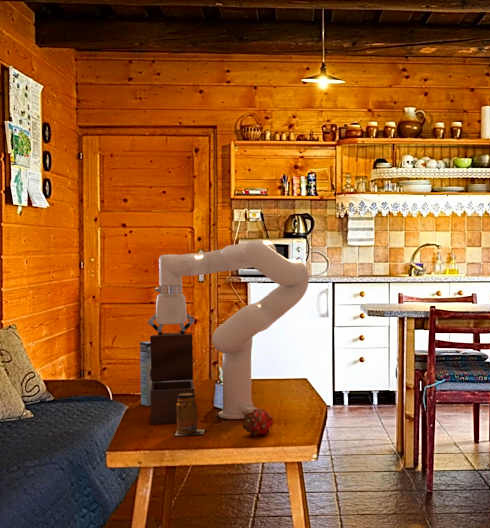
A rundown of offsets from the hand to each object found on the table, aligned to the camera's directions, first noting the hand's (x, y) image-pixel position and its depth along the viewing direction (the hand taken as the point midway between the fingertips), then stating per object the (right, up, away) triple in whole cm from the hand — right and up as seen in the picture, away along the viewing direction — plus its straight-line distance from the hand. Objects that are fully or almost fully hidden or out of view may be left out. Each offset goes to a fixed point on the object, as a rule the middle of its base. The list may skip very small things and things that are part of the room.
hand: (171, 342), depth 287 cm
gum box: (-7, -24, +23) cm, 34 cm away
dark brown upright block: (+1, -5, -2) cm, 6 cm away
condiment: (+12, -25, -29) cm, 40 cm away
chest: (+2, -24, -6) cm, 25 cm away
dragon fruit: (+33, -25, -33) cm, 53 cm away
